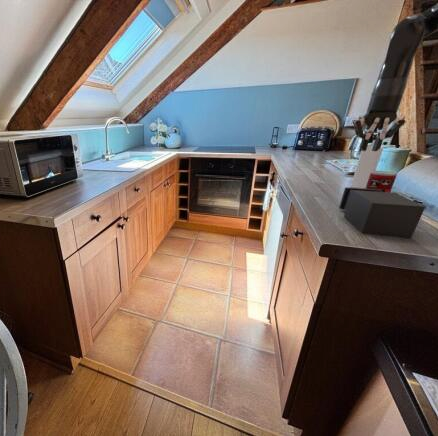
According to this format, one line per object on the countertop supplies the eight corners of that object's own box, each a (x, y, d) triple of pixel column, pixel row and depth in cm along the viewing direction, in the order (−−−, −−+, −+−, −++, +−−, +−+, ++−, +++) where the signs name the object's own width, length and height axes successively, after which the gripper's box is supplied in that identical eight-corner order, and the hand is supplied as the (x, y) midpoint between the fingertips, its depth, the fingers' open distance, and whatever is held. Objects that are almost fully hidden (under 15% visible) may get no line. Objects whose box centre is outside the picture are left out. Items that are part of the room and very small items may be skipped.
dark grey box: (343, 216, 84) (352, 190, 80) (385, 220, 80) (396, 192, 77) (361, 233, 72) (372, 202, 68) (411, 238, 68) (425, 206, 65)
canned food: (358, 197, 104) (366, 171, 100) (370, 194, 106) (378, 169, 102) (379, 202, 97) (389, 175, 93) (391, 199, 100) (401, 173, 95)
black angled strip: (334, 204, 93) (340, 184, 90) (367, 206, 90) (374, 186, 87) (353, 220, 79) (360, 197, 76) (393, 224, 76) (402, 200, 73)
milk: (350, 187, 118) (364, 139, 110) (354, 185, 122) (369, 139, 113) (365, 189, 114) (382, 140, 105) (370, 187, 117) (386, 139, 109)
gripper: (365, 95, 76) (349, 151, 83) (423, 93, 72) (400, 152, 79) (355, 96, 83) (340, 149, 89) (407, 94, 78) (387, 150, 85)
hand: (368, 150), depth 84 cm, fingers closed
